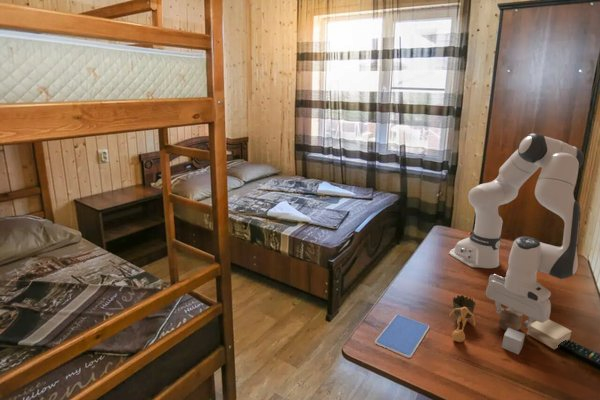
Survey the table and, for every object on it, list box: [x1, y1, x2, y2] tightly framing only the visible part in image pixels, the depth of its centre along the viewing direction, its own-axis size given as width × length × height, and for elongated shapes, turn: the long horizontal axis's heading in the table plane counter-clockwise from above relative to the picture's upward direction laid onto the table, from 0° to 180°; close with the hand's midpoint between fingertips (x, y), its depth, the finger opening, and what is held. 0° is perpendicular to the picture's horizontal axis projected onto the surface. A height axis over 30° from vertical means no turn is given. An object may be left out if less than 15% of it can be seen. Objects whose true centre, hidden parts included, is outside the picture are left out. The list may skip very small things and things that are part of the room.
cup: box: [452, 295, 477, 323], centre depth 138 cm, size 8×7×8 cm
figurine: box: [448, 307, 476, 343], centre depth 127 cm, size 8×6×12 cm
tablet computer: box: [374, 314, 430, 359], centre depth 131 cm, size 19×13×1 cm, turn 144°
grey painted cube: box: [501, 328, 526, 355], centre depth 124 cm, size 5×5×5 cm
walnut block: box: [497, 307, 524, 332], centre depth 134 cm, size 5×5×6 cm
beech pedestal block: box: [526, 318, 572, 350], centre depth 129 cm, size 9×9×4 cm
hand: (512, 319), depth 133 cm, fingers open, 8 cm apart
